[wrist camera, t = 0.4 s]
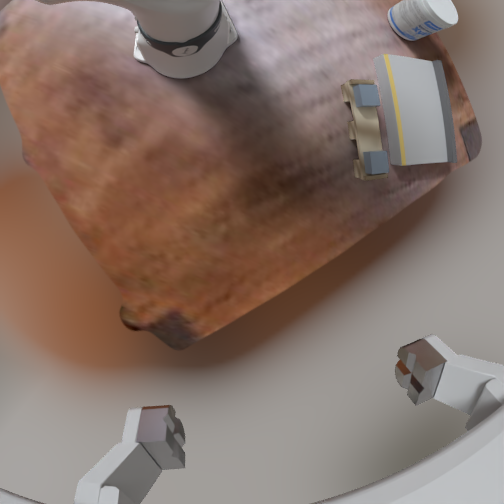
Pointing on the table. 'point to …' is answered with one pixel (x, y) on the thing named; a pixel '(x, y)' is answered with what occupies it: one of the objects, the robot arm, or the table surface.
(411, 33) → the supplement tub
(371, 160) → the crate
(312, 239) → the table surface
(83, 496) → the robot arm
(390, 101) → the dock
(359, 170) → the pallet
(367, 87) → the block
